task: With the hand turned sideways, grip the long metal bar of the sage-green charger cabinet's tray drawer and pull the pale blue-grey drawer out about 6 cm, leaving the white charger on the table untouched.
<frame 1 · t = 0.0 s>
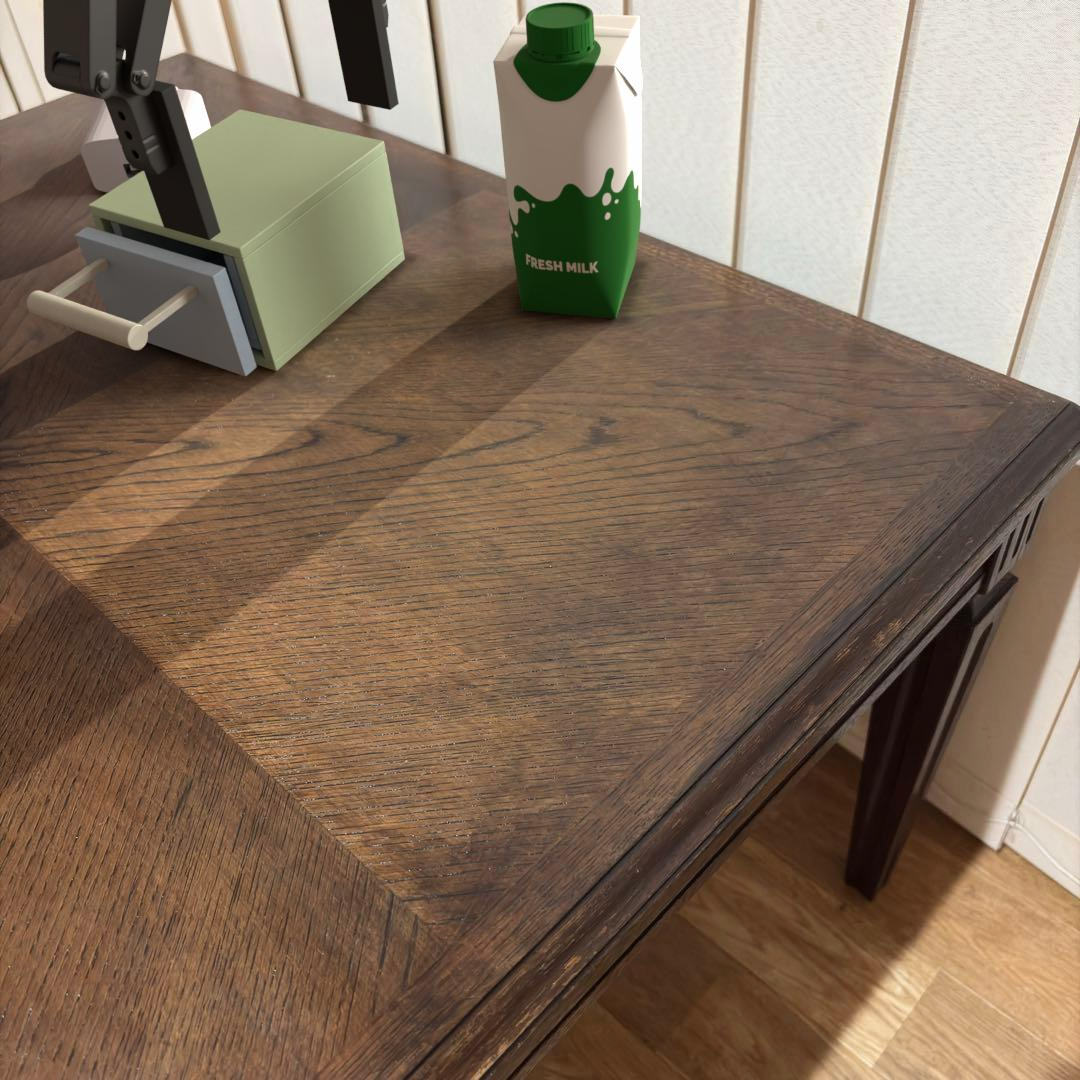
hand: (289, 162, 51), 20 cm above the table, tool pointing down, fingers open, 13 cm apart
charger: (163, 151, 99), on the table
drawer: (201, 275, 74), point 5 cm above the table, slide at 1.0 cm
milk carton: (579, 289, 79), on the table
cabinet: (273, 290, 81), on the table
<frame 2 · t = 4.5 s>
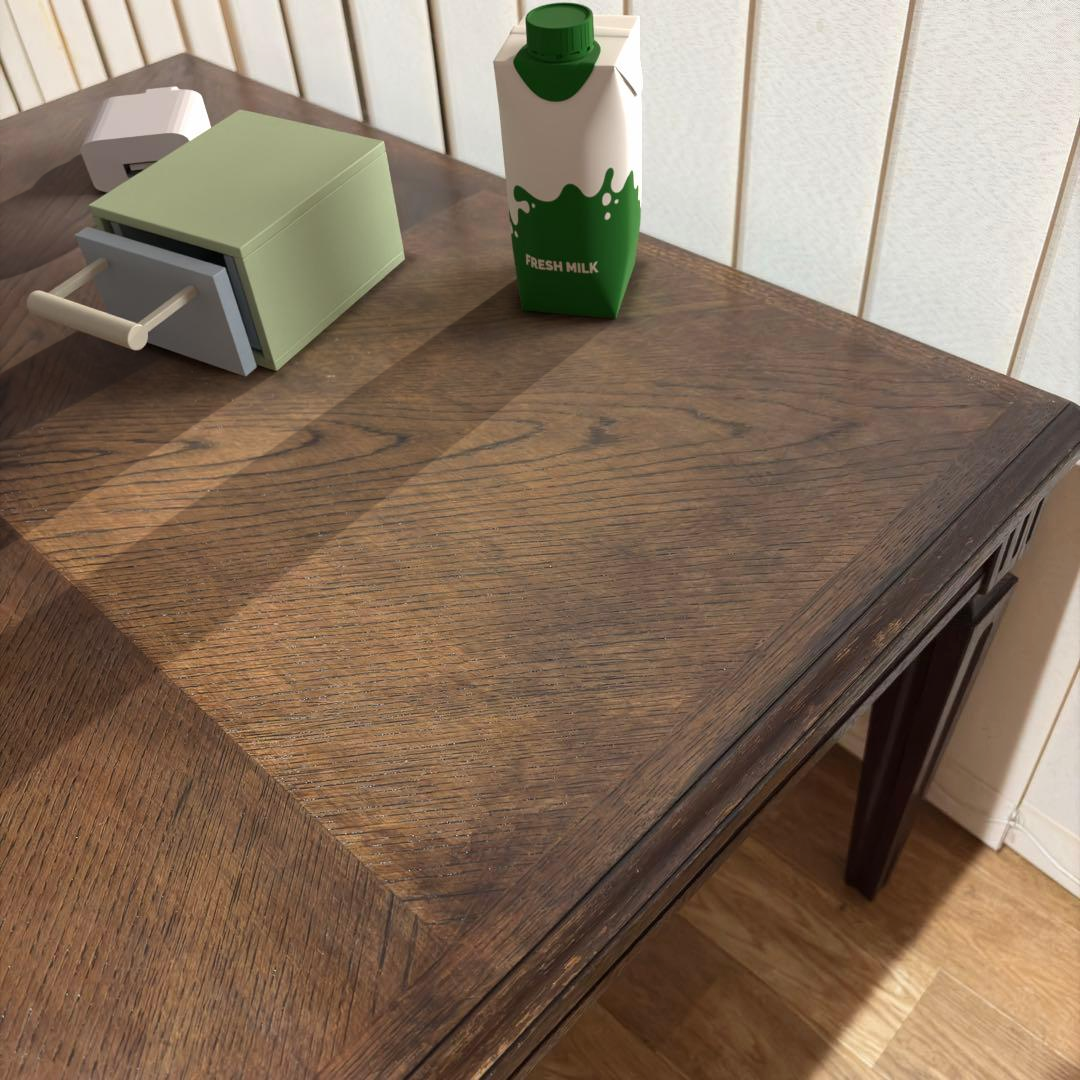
nothing on the table moved.
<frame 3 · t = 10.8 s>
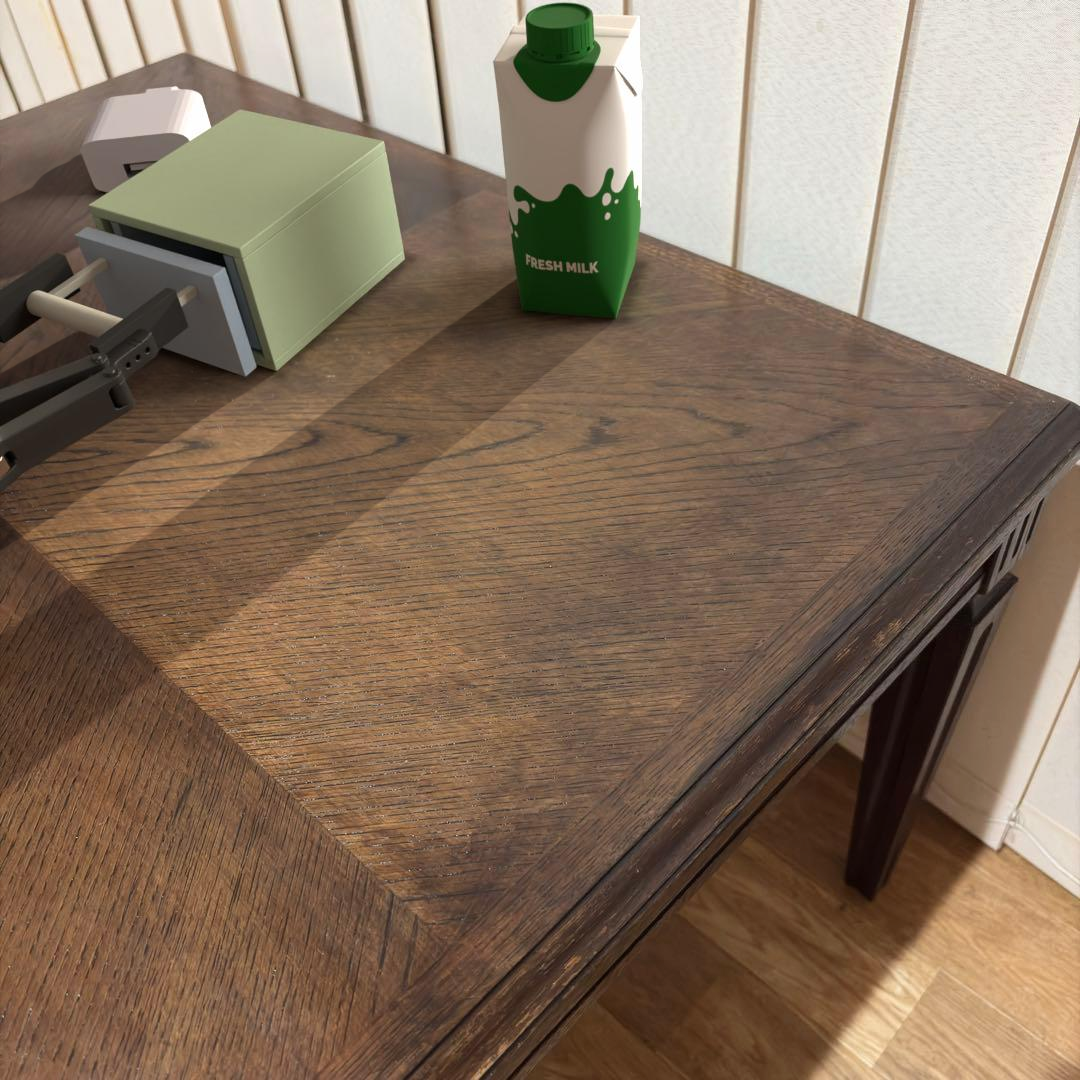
hand: (121, 289, 68), 7 cm above the table, tool horizontal, fingers closed on drawer, 9 cm apart
drawer: (201, 275, 74), point 5 cm above the table, slide at 1.0 cm, touching gripper
everything else where it was.
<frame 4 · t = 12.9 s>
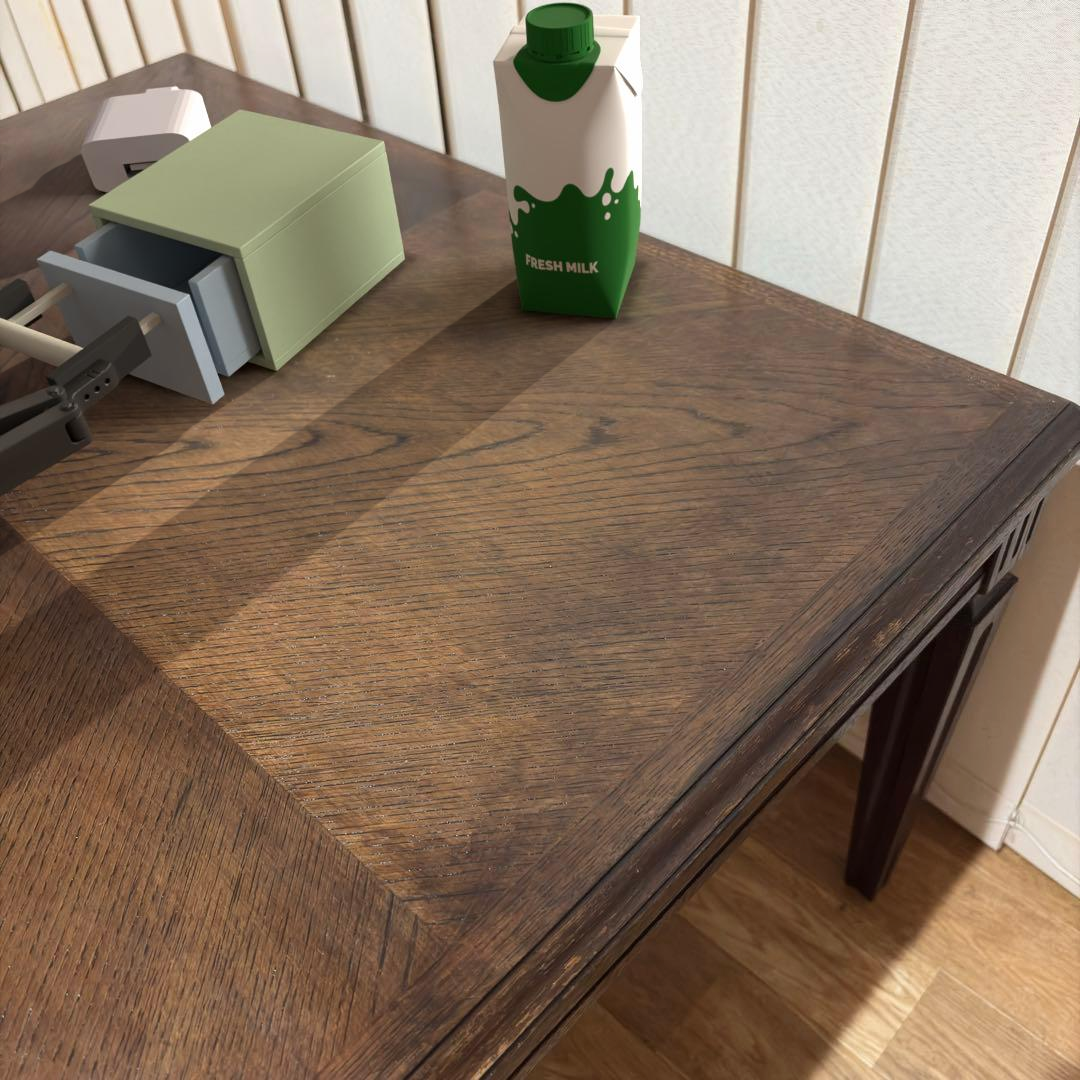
hand: (83, 316, 66), 7 cm above the table, tool horizontal, fingers closed on drawer, 9 cm apart
drawer: (168, 300, 72), point 5 cm above the table, slide at 4.3 cm, touching gripper
everything else where it was.
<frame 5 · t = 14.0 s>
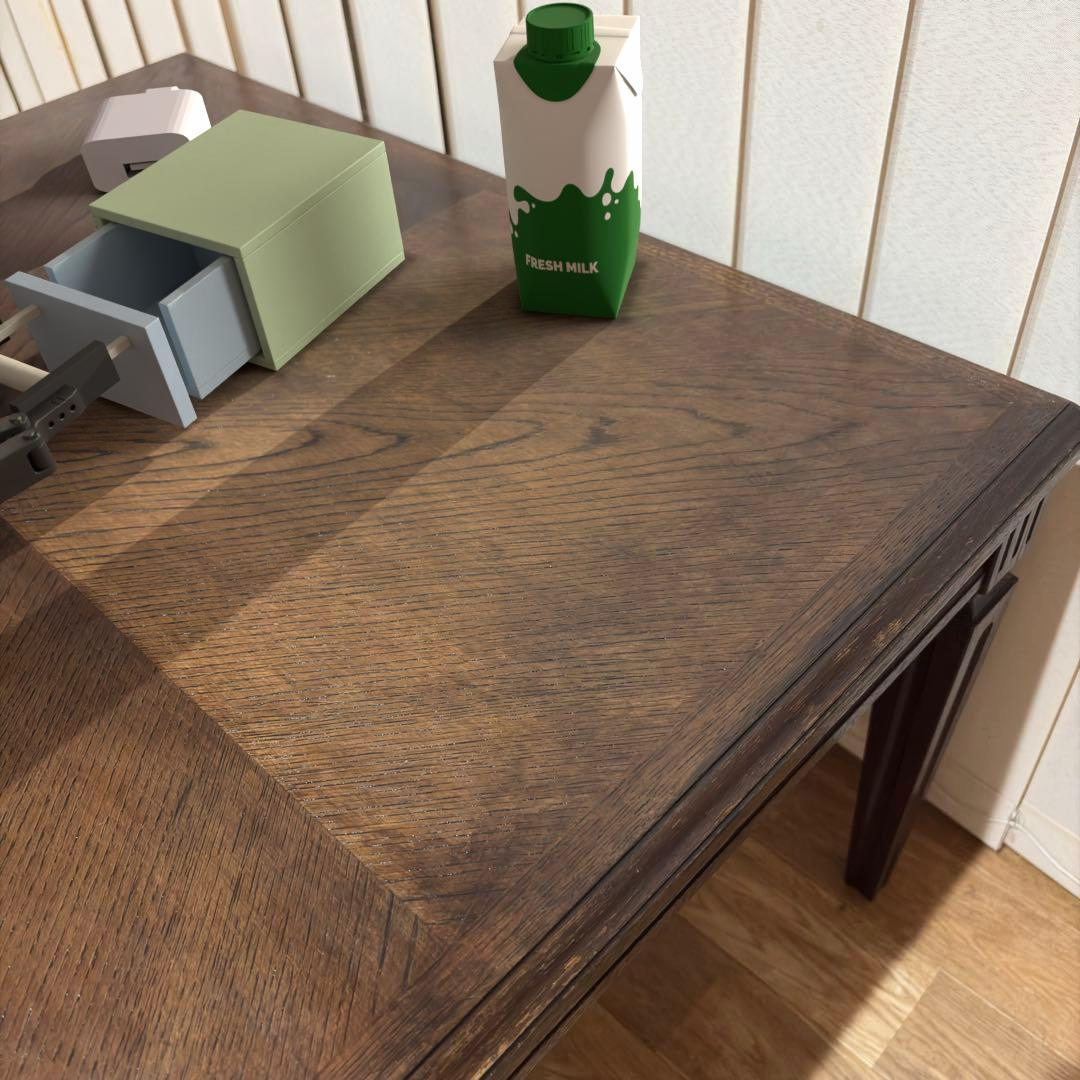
hand: (51, 339, 65), 7 cm above the table, tool horizontal, fingers closed on drawer, 9 cm apart
drawer: (140, 321, 70), point 5 cm above the table, slide at 7.0 cm, touching gripper
everything else where it was.
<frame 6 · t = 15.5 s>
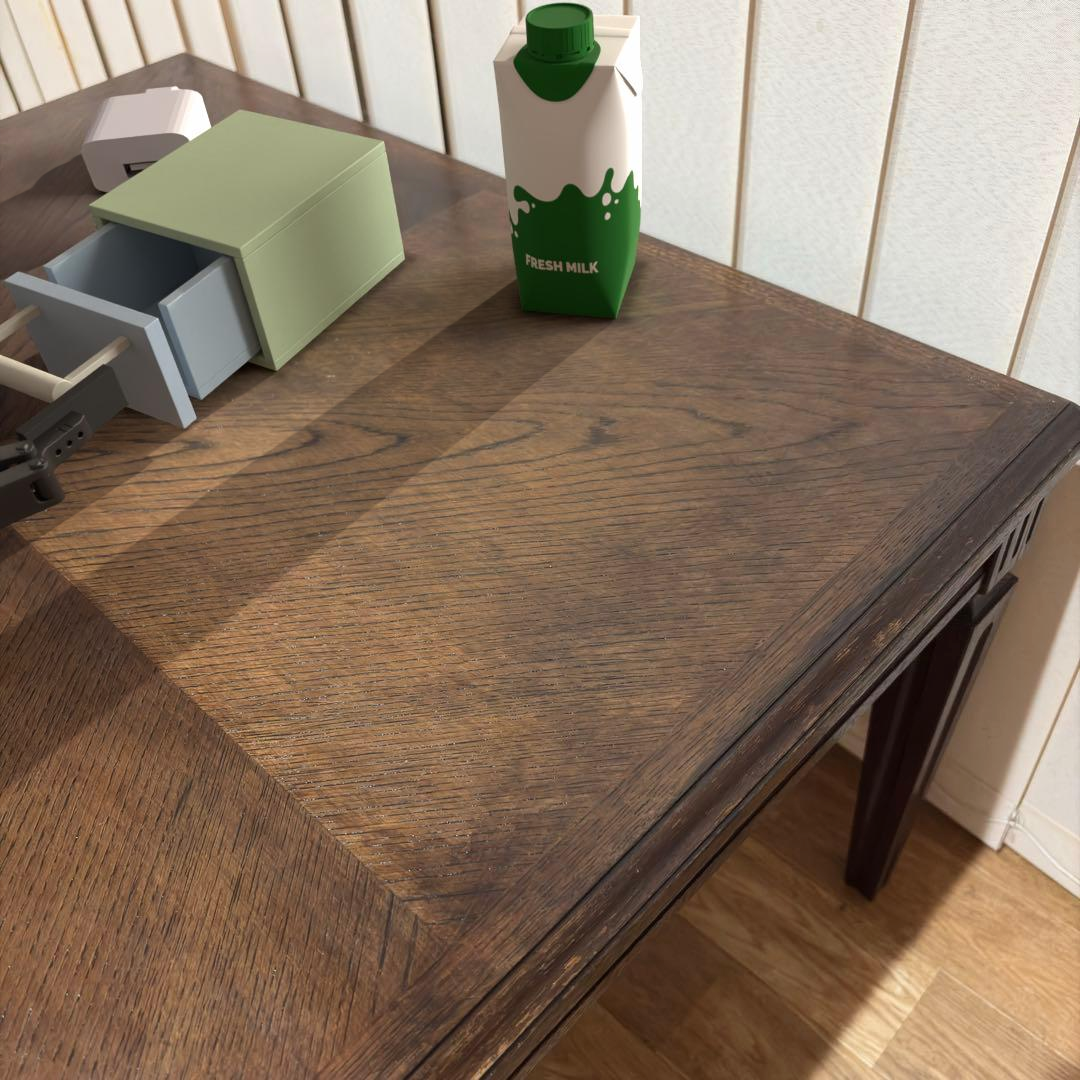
hand: (36, 353, 64), 7 cm above the table, tool horizontal, fingers open, 13 cm apart
drawer: (140, 321, 70), point 5 cm above the table, slide at 7.0 cm
everything else where it was.
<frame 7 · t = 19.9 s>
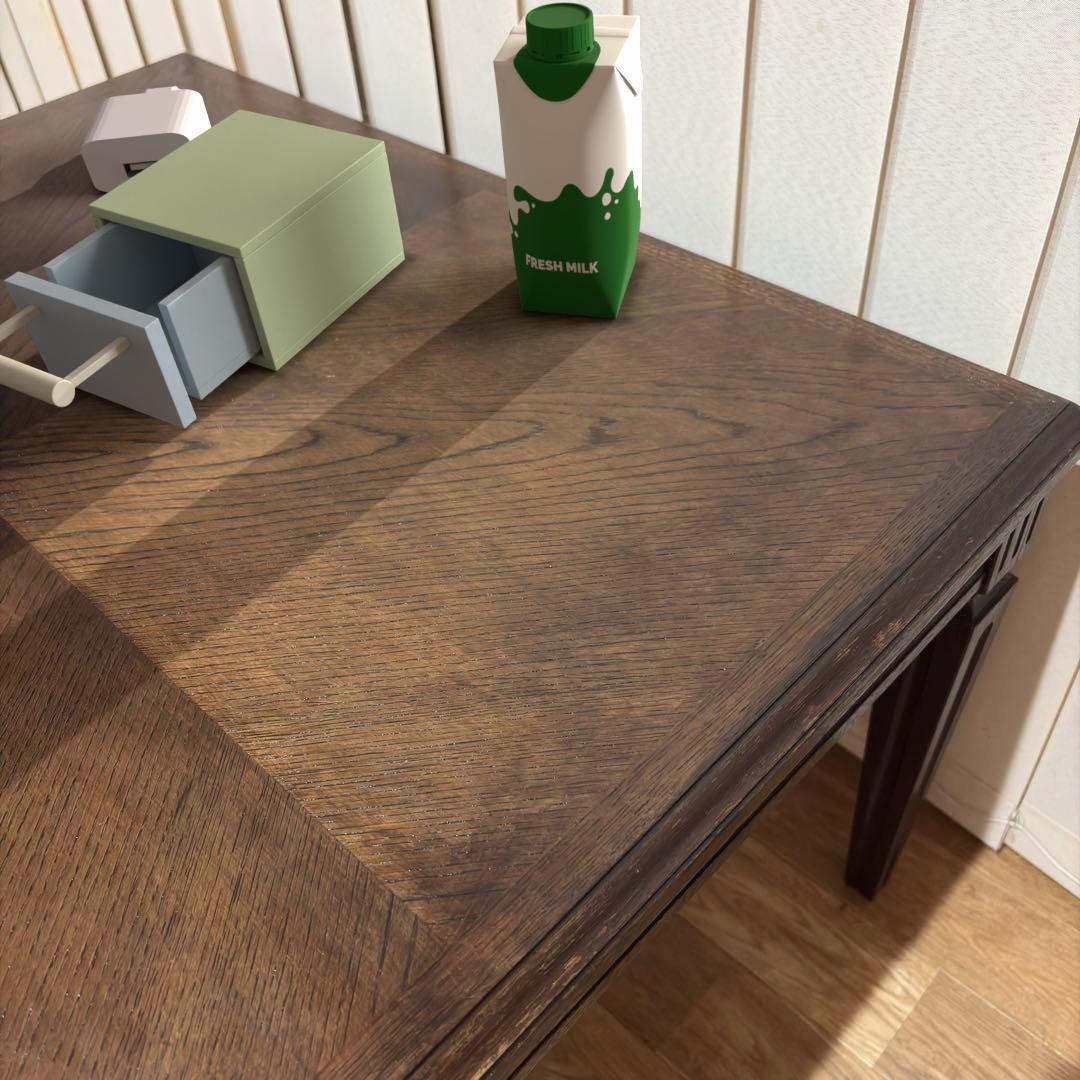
nothing on the table moved.
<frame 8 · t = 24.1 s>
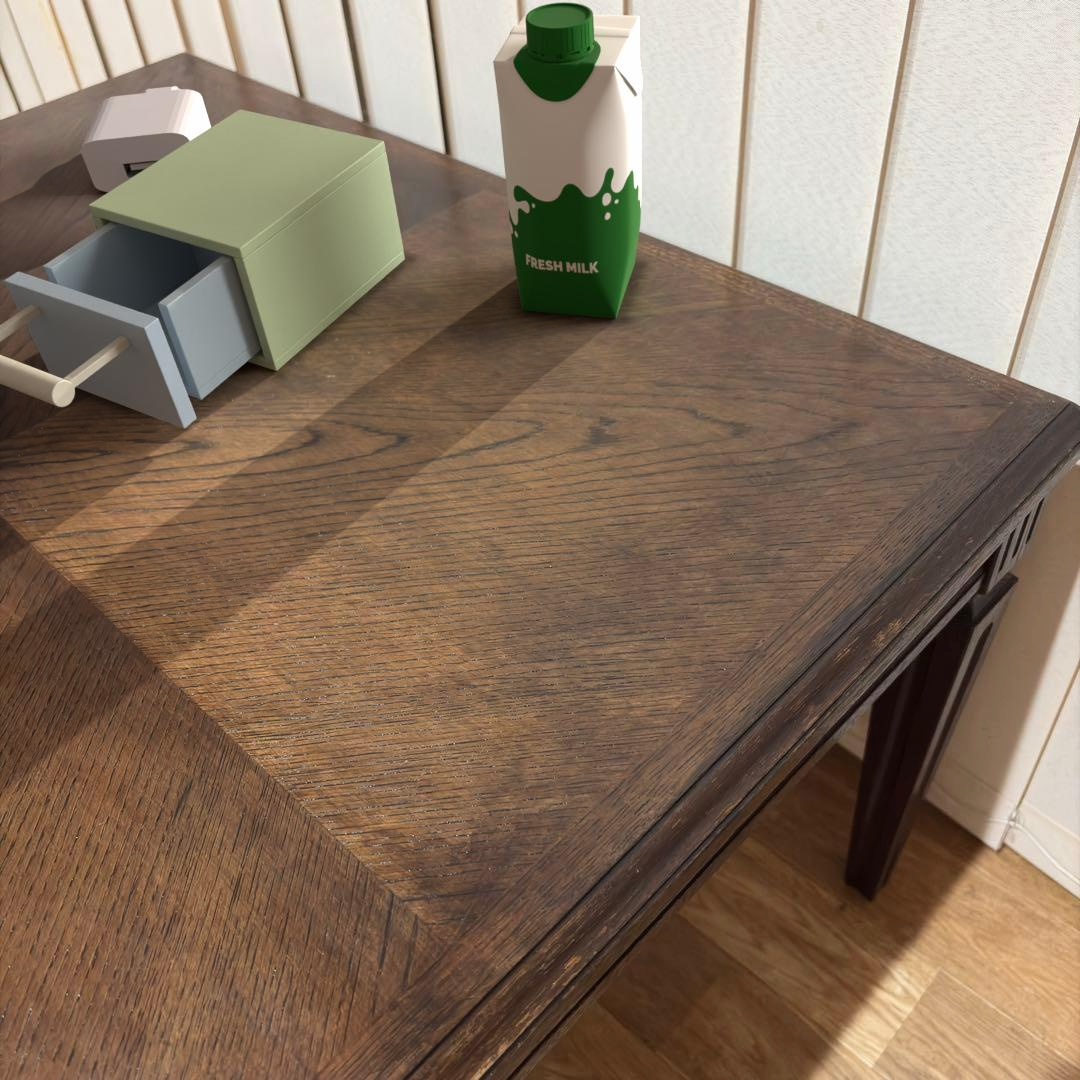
nothing on the table moved.
at the end: drawer slide at 7.0 cm; charger moved 0.2 cm from its start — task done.
